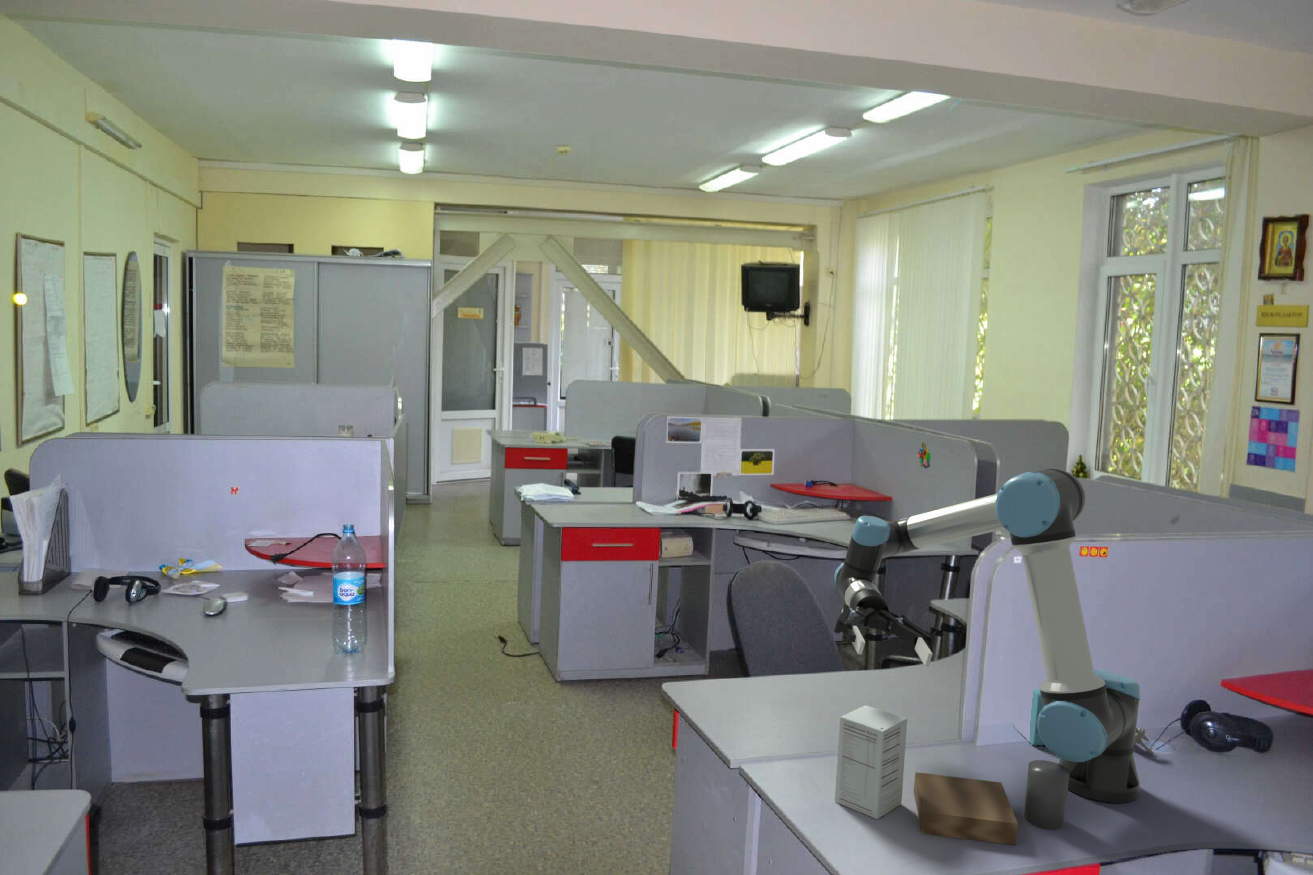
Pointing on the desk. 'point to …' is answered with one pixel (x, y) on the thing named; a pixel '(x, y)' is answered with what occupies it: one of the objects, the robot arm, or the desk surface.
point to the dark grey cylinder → (1046, 794)
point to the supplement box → (870, 761)
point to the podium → (964, 808)
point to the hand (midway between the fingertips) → (895, 653)
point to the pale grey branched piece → (1139, 735)
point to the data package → (1035, 718)
